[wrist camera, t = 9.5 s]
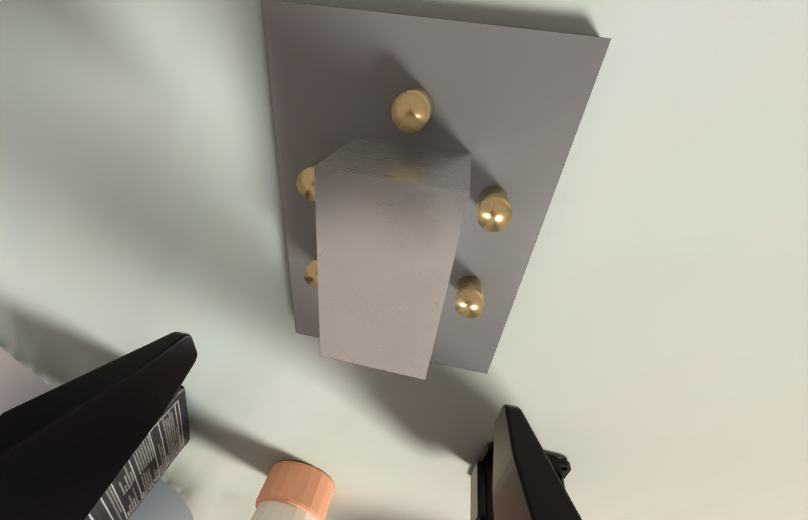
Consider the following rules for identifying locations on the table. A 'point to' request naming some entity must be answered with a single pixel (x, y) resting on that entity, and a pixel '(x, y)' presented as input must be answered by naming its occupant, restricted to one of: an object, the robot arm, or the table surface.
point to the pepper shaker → (294, 493)
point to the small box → (146, 463)
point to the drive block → (386, 249)
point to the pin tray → (430, 138)
